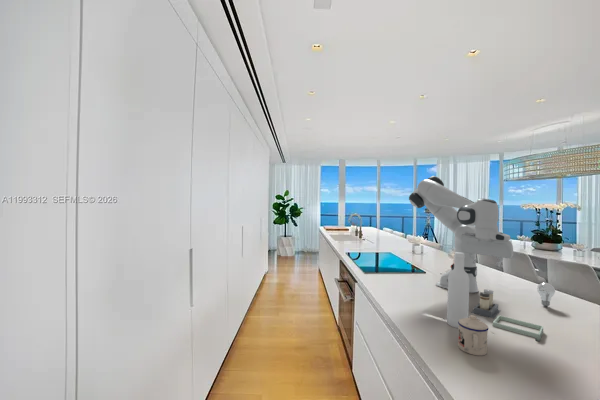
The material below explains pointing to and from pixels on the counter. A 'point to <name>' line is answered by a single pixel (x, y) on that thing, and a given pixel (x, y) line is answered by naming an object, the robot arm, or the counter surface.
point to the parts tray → (535, 335)
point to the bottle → (457, 292)
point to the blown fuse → (484, 301)
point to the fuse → (490, 296)
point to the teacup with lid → (472, 336)
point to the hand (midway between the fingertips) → (485, 265)
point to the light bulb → (545, 293)
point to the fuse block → (491, 313)
